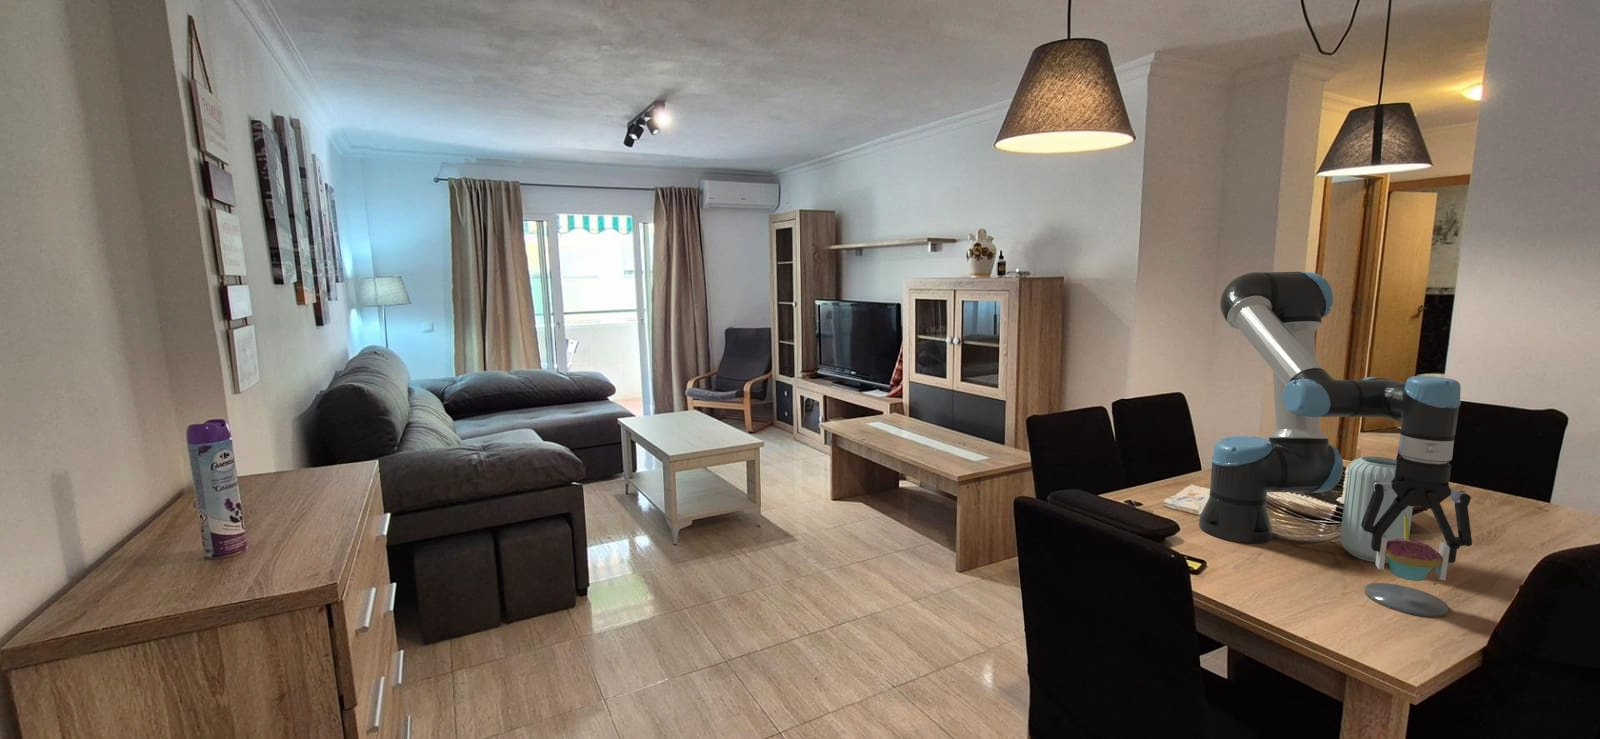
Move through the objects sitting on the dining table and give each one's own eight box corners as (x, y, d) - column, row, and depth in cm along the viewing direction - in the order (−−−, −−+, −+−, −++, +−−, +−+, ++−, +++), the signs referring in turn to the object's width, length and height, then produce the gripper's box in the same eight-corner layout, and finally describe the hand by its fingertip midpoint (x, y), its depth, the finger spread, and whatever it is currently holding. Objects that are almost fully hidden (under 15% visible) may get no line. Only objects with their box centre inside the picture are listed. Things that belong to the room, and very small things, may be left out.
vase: (1406, 555, 150) (1419, 460, 147) (1404, 572, 142) (1417, 472, 139) (1341, 541, 158) (1352, 451, 155) (1335, 556, 150) (1346, 461, 147)
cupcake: (1367, 567, 133) (1374, 509, 131) (1406, 565, 133) (1413, 508, 132) (1409, 587, 124) (1417, 526, 123) (1451, 585, 125) (1460, 524, 123)
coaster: (1372, 606, 128) (1372, 602, 128) (1359, 581, 138) (1359, 578, 138) (1457, 623, 122) (1457, 619, 122) (1436, 595, 132) (1437, 591, 132)
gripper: (1356, 456, 128) (1344, 567, 131) (1509, 471, 117) (1492, 592, 120) (1348, 447, 134) (1337, 553, 137) (1493, 461, 123) (1477, 576, 127)
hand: (1409, 571), depth 129 cm, fingers closed on cupcake, 8 cm apart
